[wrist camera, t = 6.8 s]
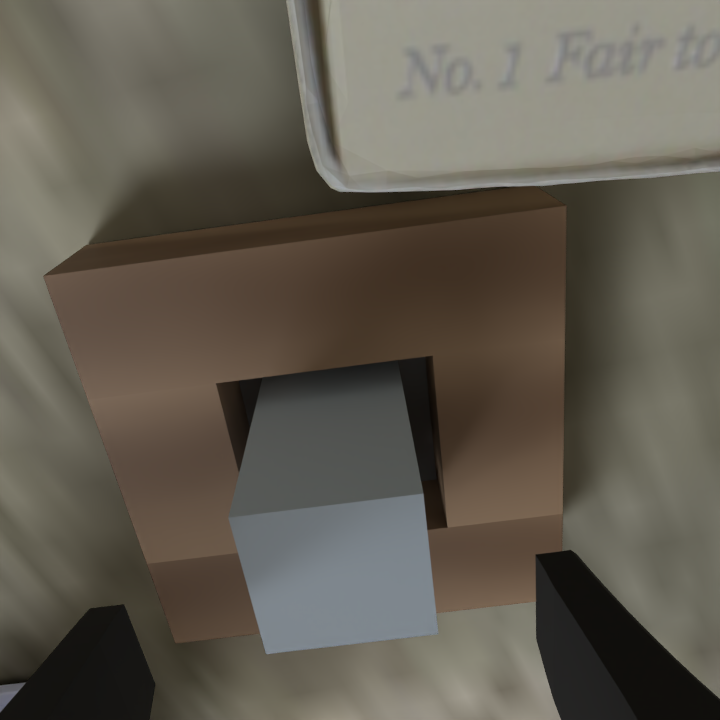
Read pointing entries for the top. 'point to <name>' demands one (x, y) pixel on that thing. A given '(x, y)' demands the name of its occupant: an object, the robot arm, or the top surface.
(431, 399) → the walnut socket block
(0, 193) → the top surface
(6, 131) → the top surface
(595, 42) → the skincare box
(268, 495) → the peg
